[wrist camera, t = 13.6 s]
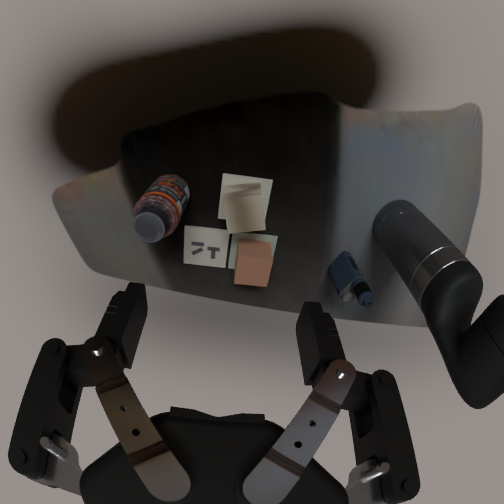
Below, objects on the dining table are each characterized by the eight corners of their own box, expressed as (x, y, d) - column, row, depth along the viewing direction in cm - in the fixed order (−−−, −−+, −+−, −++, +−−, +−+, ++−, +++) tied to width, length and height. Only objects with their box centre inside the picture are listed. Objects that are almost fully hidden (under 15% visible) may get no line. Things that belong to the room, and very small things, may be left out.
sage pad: (277, 236, 44) (277, 237, 44) (269, 271, 48) (269, 272, 48) (233, 230, 43) (232, 231, 43) (228, 266, 47) (228, 268, 47)
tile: (272, 179, 39) (272, 180, 39) (264, 222, 43) (264, 224, 42) (223, 173, 38) (223, 174, 38) (218, 217, 42) (217, 218, 42)
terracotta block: (270, 241, 44) (273, 260, 40) (264, 267, 47) (266, 286, 43) (238, 238, 44) (238, 256, 40) (234, 264, 46) (234, 283, 42)
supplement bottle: (194, 176, 38) (177, 210, 29) (187, 213, 42) (171, 255, 32) (154, 169, 37) (126, 200, 28) (150, 205, 41) (124, 245, 31)
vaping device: (354, 254, 47) (379, 302, 37) (335, 275, 49) (354, 324, 39) (345, 247, 46) (369, 295, 36) (325, 269, 48) (343, 318, 38)
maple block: (260, 181, 39) (262, 195, 35) (263, 213, 41) (265, 229, 37) (224, 186, 39) (222, 199, 35) (229, 217, 42) (228, 233, 38)
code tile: (229, 230, 43) (229, 231, 43) (225, 266, 47) (225, 268, 47) (185, 225, 43) (184, 226, 42) (184, 261, 46) (183, 263, 46)
